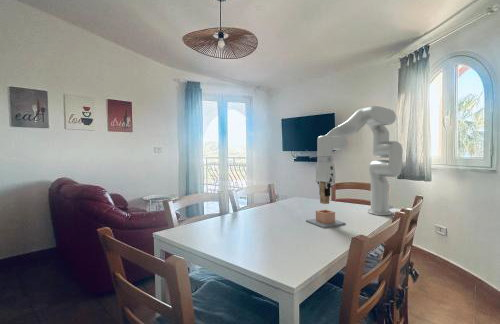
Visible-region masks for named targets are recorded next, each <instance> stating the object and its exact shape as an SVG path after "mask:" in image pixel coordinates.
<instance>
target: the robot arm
mask: <svg viewBox="0 0 500 324" xmlns="http://www.w3.org/2000/svg"><path fill="white" fill-rule="evenodd" d="M396 119H397V115H396V112H395V111H394V110H393V109H391V108H386V107H383V106H379V105H372V106H366V107H362V108H359V109H357V110H356V111H355V112H354V113H353V114H351V116H350V117H349V118H348V119H347V120H346V121H345V122H343V123H341V124H339V125H337V126H336V127H334V128H332V129H331V130H329V132H327V134H325V135H320V136H319V135H318V137H317V141H316V143H317V149H316V151H317V154H316V155H317V158H316V159H317V160H316V161H317V162H316V169H315V183H317V186H318V188H320V181H321V182H325V187H326V188H325V196H329V197H331V188H332V187H333V185H335V184H336V170H335V169H336V168H335V163H334V161H333V160H334V158H333V156H334V155H333V151H342V150H345V149H346V147H348V144H349V143H348V142H349V141H348V139H347V137H351V136H354V135H356V134H357V133H358V132H360V131H361V129H362V128H363V127H365V125H367V126H368V127H369V128H370V130H371V132H372V136H373V137H372V140H373V141H372V155H373V156H374V157H375V158H380V159H375V160H372V161H371V162H370V163H369V164H368V171H369V176H370V209H368V210H367V213H369V214H370V215H376V216H389V215H390V216H391V215H392V211H391V209H394V206H393V205H389V203H390V201H389V199H390V198H389V194H390V193H389V190H390V189H389V187H390V186H389V181H388V179H387V178H398V177H399V176H400V175H401V172H402V169H403V153H404V152H403V151H404V149H403V146H402V144H401V143H400V142H399V141H397V140H391V141H390V130H389V129H388V128H387V127H386V126H390V125H393V124H394V123H395V122H396ZM383 158H385V159H383ZM386 158H387V159H386ZM328 183H329V184H328Z"/></svg>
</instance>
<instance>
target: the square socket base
mask: <svg viewBox="0 0 500 324" xmlns="http://www.w3.org/2000/svg"><path fill="white" fill-rule="evenodd" d="M305 222H306V223H309V224H311V225H314V226H317V227H318V228H319V227H320V228H322V229H327V228H333V227H338V226H344V225H346V224H347V223H346V222H344V221H340V220H338V219H336V211H332V210H329V209H321V210H315V218H311V219H306V220H305Z"/></svg>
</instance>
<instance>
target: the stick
mask: <svg viewBox="0 0 500 324" xmlns="http://www.w3.org/2000/svg"><path fill="white" fill-rule="evenodd" d="M328 184H329V183H328ZM325 188H326V187H325V182H321V181H320V187H319V202H320V204H323V205H326V204H327V205H328V204H330V196H325Z"/></svg>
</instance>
